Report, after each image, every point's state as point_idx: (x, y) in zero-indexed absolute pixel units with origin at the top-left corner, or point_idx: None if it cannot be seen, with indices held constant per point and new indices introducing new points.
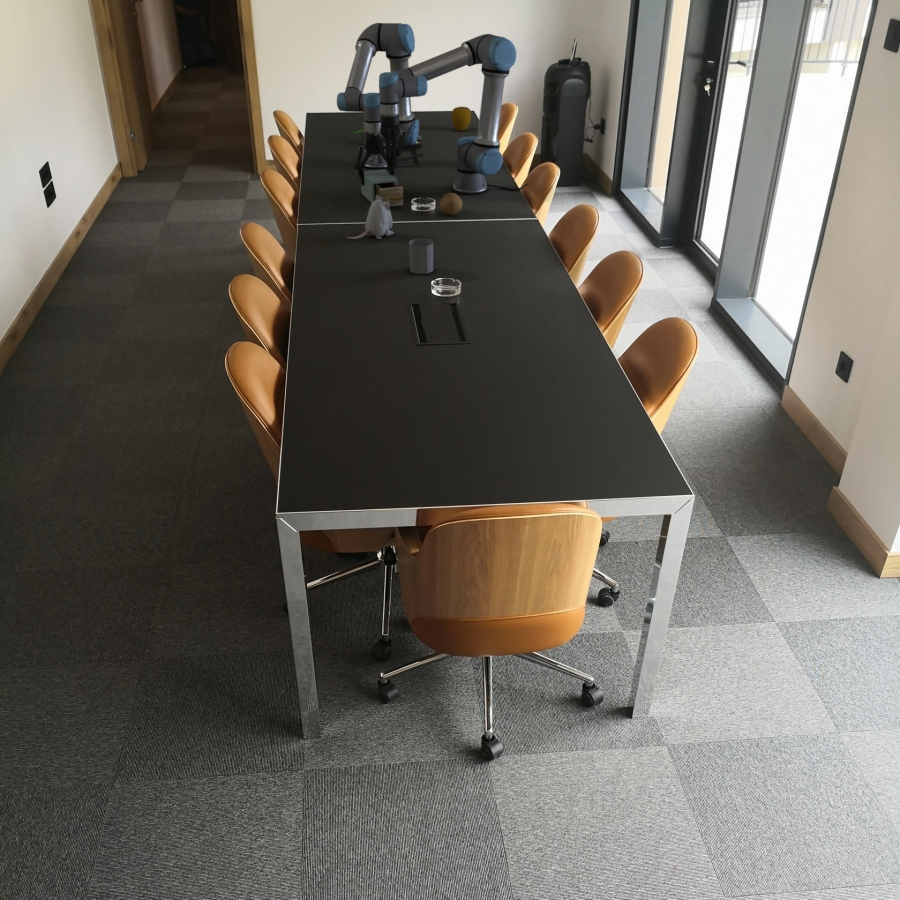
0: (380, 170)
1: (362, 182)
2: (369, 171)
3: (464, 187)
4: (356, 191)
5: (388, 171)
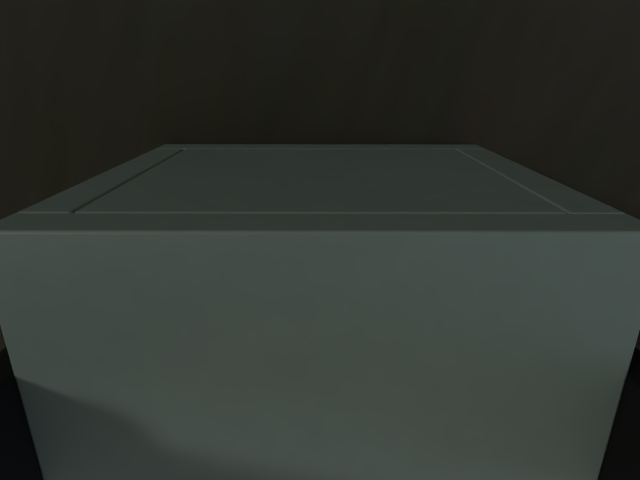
0: (502, 302)
1: None
2: (212, 292)
3: None
4: (115, 6)
5: (609, 472)
